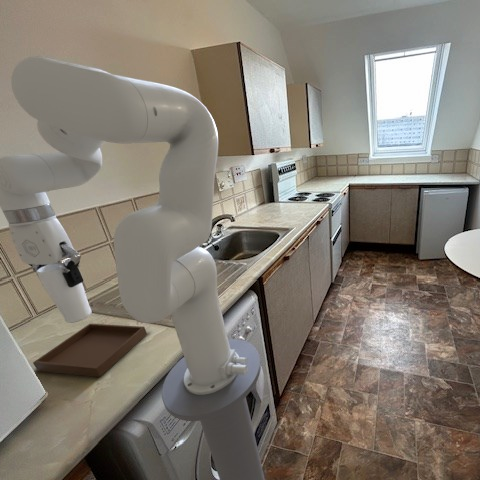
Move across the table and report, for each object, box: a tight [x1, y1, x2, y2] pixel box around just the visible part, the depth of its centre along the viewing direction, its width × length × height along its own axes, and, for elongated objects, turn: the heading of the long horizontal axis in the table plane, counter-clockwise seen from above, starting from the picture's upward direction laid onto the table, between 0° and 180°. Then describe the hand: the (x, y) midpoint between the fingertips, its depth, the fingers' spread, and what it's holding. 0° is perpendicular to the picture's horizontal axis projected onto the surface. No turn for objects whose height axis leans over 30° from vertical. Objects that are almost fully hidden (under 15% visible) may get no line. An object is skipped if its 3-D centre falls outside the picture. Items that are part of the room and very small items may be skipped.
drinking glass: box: [36, 260, 93, 324], centre depth 66 cm, size 7×7×15 cm
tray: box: [32, 323, 148, 378], centre depth 73 cm, size 19×15×3 cm
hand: (63, 283), depth 66 cm, fingers closed on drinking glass, 6 cm apart
